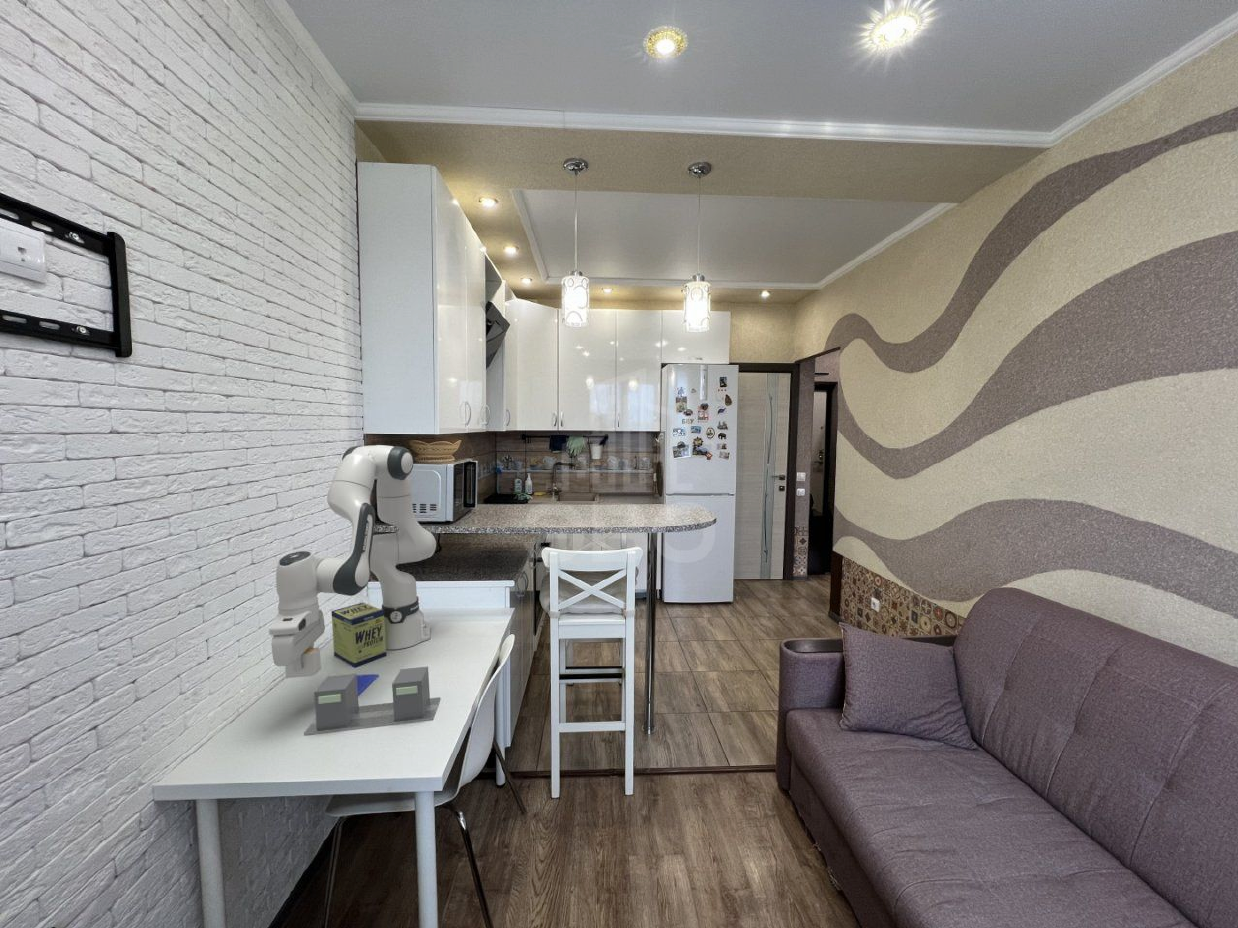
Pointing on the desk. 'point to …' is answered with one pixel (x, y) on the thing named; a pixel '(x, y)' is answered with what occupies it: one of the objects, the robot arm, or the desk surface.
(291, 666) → the loose module
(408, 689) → the block
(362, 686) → the hard drive
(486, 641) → the desk surface
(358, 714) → the rail plate
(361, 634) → the protein box
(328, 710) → the block
